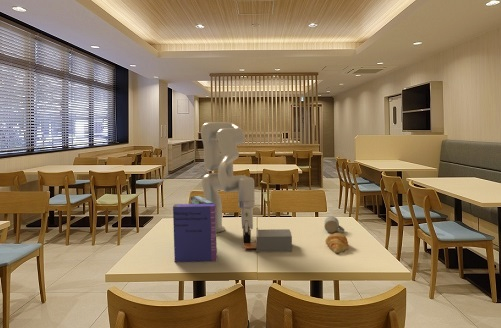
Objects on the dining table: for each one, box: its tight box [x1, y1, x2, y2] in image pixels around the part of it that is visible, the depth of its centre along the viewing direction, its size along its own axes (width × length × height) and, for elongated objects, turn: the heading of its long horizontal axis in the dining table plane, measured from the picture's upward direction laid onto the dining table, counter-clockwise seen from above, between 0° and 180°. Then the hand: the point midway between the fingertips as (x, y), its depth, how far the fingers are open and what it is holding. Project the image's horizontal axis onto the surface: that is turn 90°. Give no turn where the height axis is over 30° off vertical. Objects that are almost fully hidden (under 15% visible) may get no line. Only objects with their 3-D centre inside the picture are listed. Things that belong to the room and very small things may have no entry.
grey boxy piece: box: [256, 227, 293, 253], centre depth 173 cm, size 16×12×8 cm
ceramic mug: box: [324, 215, 345, 234], centre depth 198 cm, size 11×8×8 cm
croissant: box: [325, 232, 349, 254], centre depth 172 cm, size 21×10×8 cm, turn 167°
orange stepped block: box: [242, 229, 257, 249], centre depth 173 cm, size 16×8×8 cm, turn 89°
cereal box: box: [172, 203, 218, 263], centre depth 157 cm, size 17×5×24 cm, turn 91°
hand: (247, 242), depth 173 cm, fingers closed on orange stepped block
